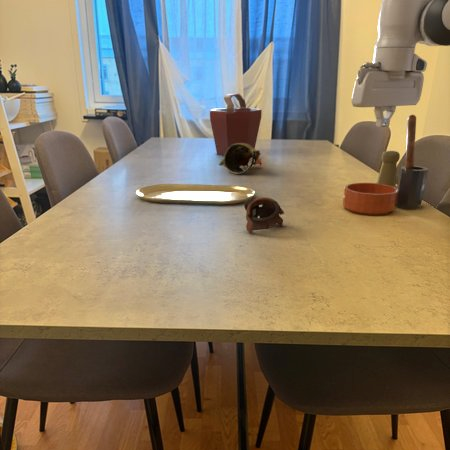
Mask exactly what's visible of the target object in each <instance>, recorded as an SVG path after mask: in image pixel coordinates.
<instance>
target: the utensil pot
mask: <svg viewBox="0 0 450 450" xmlns="http://www.w3.org/2000/svg"><path fill="white" fill-rule="evenodd" d="M405 167H406V165H403V166H400V168H399V173H398V179H397V183H396V188H397V189H399V193H398V199H397V204H396V208H400V209H404V210H419V209H420V208H421V207H422V203H423V198H424V193H425V188H426V183H427V178H428V175H429V168H428V167H425V166H420V165H414V170H412V169H406V168H405Z"/></svg>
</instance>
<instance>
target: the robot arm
mask: <svg viewBox="0 0 450 450" xmlns="http://www.w3.org/2000/svg"><path fill="white" fill-rule="evenodd" d="M379 10H380V11H379V15H378V22H377V33H378V34H377V40H376V43H375V45H374V50H373V51H374V52H373V57H372V62H369V61H367V62H364V63H363V64H362V65H361V66H360V67H359V68H358V70H357V76H356V78H355V81H354V86H353V91H352V94H351V105H352V107H354V108H374V109H373V112H374V117H375V119H376V120H375V127H378V128H382V127H385V128H386V127H389V126H390V123H391V119H392V118H393V116H394V114H395V112H396V109H397V107H402V106H403V107H404V106H406V107H407V106H417V104H418V103H419V102H420V100H421V96H422V92H423V87H424V81H425V80H424V79H425V76H424V73H423V72H426V71H427V67H428V62H427V60H425V59H423V58H421V57H420V56H419V55H418V54H417V53H415V51H416V46H417V44H421V45H425V46H428V47H441V46H443V47H450V0H382V1H381V4H380V9H379ZM384 112H385V113H384Z"/></svg>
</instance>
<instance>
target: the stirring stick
mask: <svg viewBox="0 0 450 450" xmlns="http://www.w3.org/2000/svg"><path fill="white" fill-rule="evenodd" d="M406 128H407V129H406V147H405V148H406V149H405V166H406V167H405V168H406V169H412V170H414V166H415V150H416V134H417V133H416V131H417V116H416V115H415V114H411V115H409V116H408V117H407V123H406Z"/></svg>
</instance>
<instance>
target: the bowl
mask: <svg viewBox="0 0 450 450" xmlns="http://www.w3.org/2000/svg"><path fill="white" fill-rule="evenodd" d="M398 193H399V189H397V186H396V187H393V186H390V185H385V184H379V183H377V182H354V183H353V182H352V183H347V184H346V185H345V186H344V191H343V200H342V206H343V207H344V208H345V209H347V210H348V211H349V212H352V213H355V214H359V215H360V214H361V215H370V216H381V215H386V214H389V213H391V212H394V211H395V210H396V209H397V207H396V204H397V199H398Z"/></svg>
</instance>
